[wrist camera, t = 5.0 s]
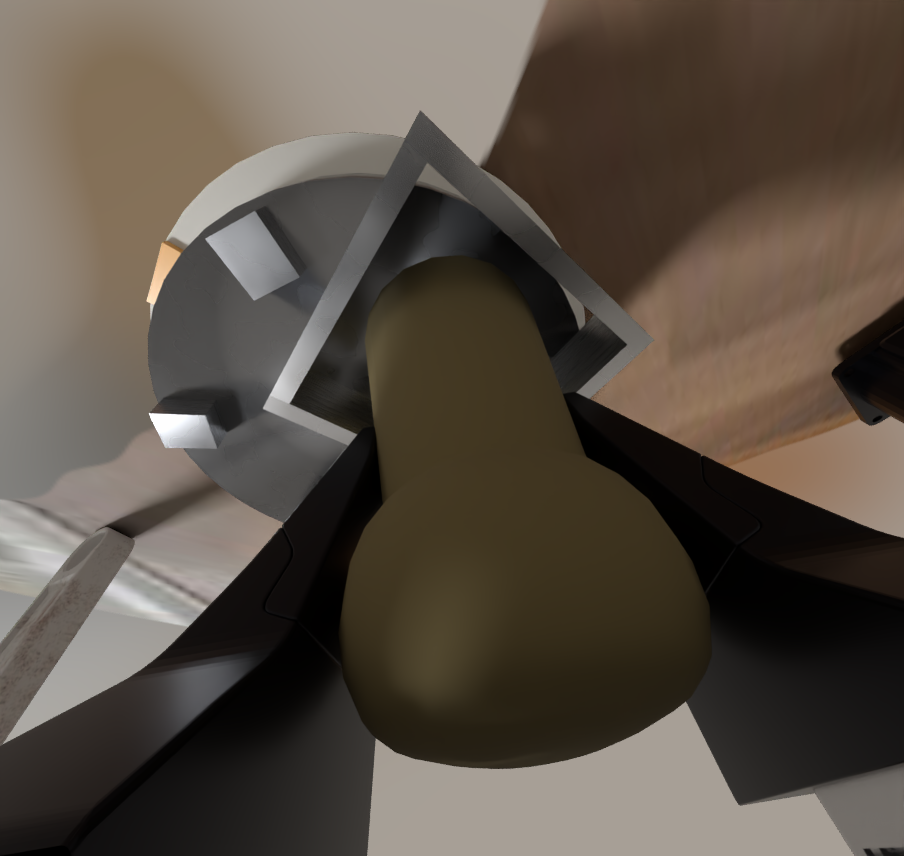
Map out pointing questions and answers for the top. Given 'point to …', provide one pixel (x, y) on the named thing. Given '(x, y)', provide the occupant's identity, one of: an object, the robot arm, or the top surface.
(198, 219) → the base plate
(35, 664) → the wrench
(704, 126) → the top surface
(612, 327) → the grey tabbed disc
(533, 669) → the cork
